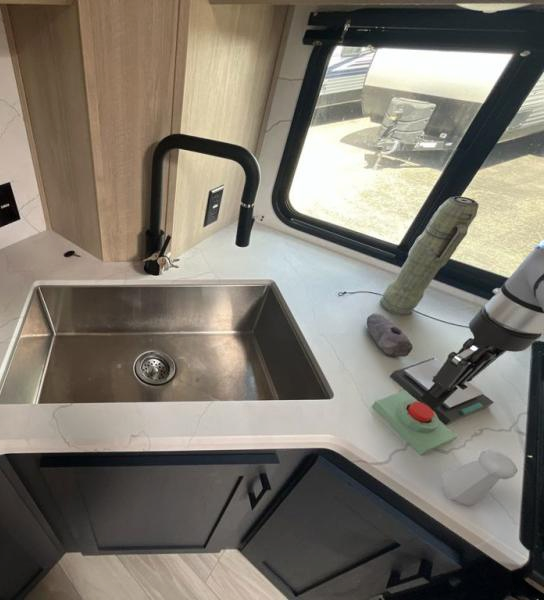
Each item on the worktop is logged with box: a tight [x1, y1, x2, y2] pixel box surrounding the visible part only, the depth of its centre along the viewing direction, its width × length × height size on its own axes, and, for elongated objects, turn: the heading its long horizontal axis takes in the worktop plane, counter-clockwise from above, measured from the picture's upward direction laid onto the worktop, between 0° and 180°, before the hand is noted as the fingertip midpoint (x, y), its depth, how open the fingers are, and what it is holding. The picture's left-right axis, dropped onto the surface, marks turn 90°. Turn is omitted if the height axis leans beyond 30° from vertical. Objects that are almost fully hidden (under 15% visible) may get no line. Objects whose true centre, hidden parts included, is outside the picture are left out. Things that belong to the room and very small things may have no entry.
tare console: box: [371, 389, 458, 456], centre depth 70 cm, size 12×9×4 cm
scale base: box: [389, 357, 495, 426], centre depth 77 cm, size 14×14×3 cm
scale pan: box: [403, 358, 485, 409], centre depth 76 cm, size 11×11×1 cm
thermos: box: [379, 195, 480, 316], centre depth 91 cm, size 9×12×35 cm
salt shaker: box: [441, 449, 518, 506], centre depth 57 cm, size 6×6×13 cm
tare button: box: [408, 402, 434, 423], centre depth 69 cm, size 4×4×2 cm
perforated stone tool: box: [366, 312, 414, 358], centre depth 88 cm, size 15×5×7 cm, turn 179°
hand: (429, 402), depth 66 cm, fingers closed
